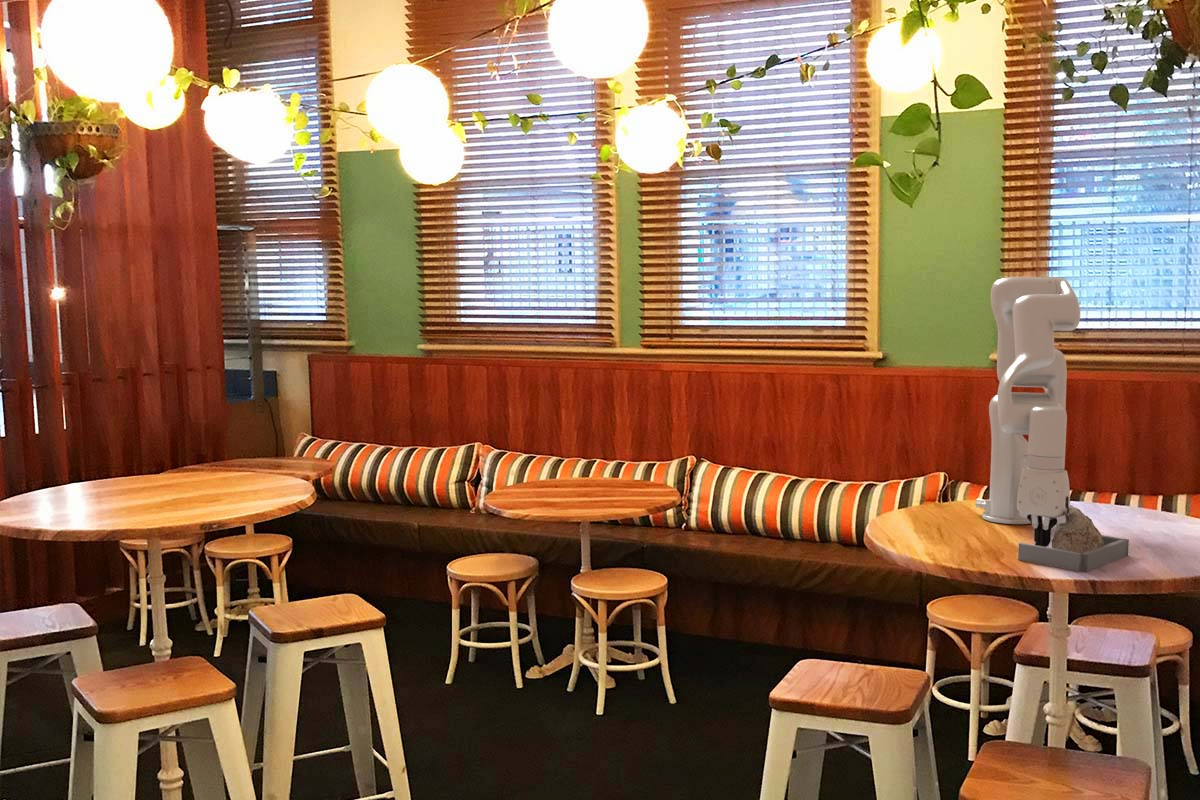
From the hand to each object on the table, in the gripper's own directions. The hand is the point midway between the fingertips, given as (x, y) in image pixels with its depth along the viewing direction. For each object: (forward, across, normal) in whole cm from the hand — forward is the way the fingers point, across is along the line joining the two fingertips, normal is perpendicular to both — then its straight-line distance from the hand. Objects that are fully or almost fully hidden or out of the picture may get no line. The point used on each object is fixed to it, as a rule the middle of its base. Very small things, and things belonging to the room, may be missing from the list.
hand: (1042, 546), depth 252 cm
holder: (+1, +7, 0) cm, 7 cm away
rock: (+2, +7, +2) cm, 7 cm away
